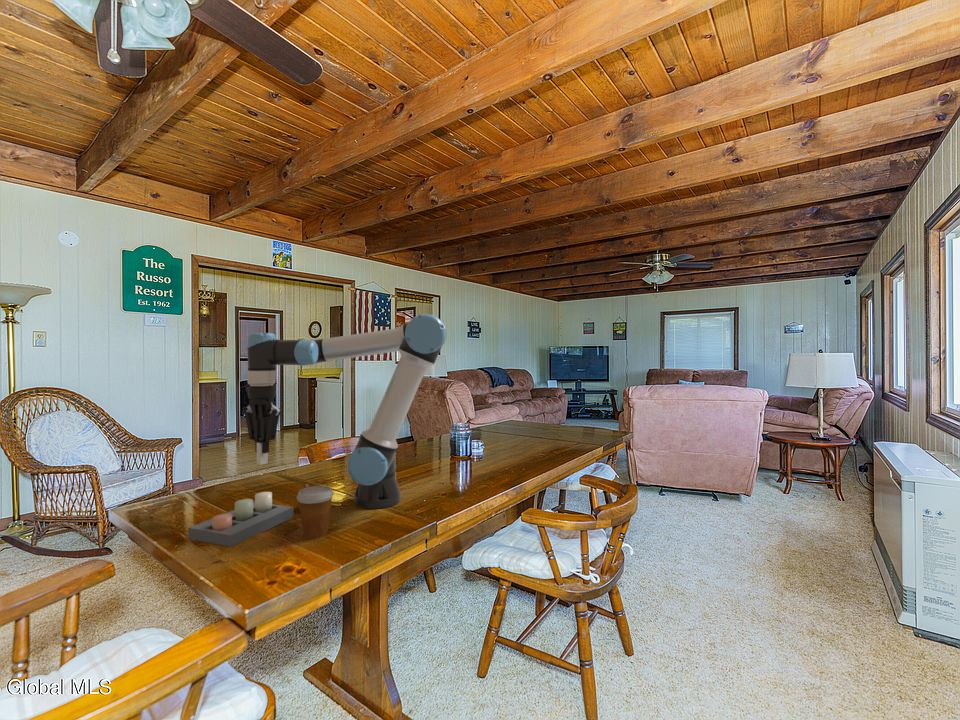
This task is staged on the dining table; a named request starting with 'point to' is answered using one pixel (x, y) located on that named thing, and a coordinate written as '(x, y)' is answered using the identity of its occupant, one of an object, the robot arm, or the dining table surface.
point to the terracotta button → (222, 522)
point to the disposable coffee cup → (315, 510)
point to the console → (241, 526)
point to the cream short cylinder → (263, 502)
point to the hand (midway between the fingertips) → (262, 463)
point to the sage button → (243, 509)
